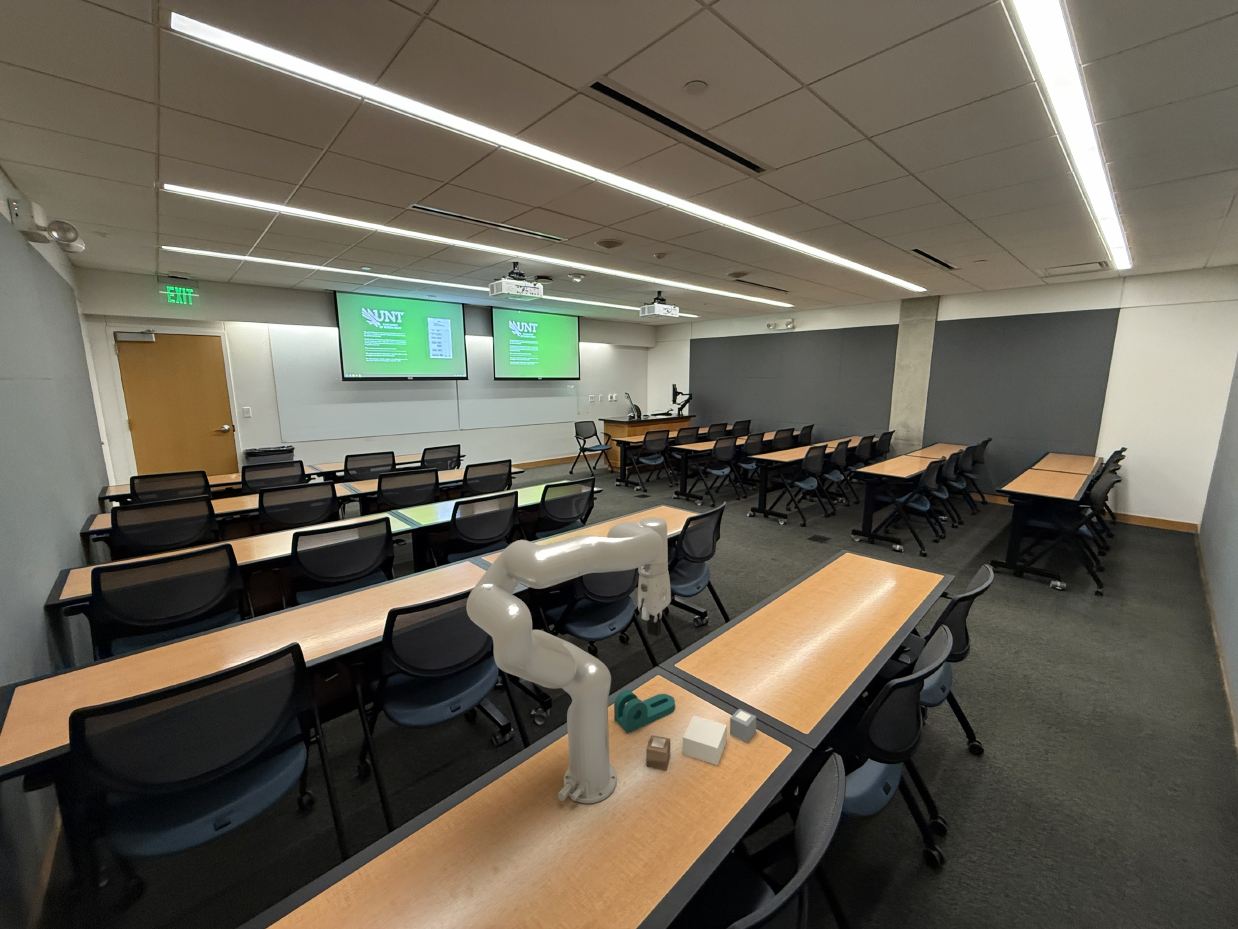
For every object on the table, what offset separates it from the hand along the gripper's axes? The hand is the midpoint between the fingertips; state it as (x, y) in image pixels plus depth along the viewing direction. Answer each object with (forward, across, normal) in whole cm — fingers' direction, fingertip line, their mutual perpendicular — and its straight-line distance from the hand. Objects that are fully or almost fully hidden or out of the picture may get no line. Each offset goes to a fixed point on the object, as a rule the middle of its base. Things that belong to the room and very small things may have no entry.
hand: (654, 633), depth 124 cm
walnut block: (+29, -8, -5) cm, 31 cm away
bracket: (+30, +6, +6) cm, 31 cm away
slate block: (+29, +12, -20) cm, 37 cm away
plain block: (+29, +2, -13) cm, 32 cm away
